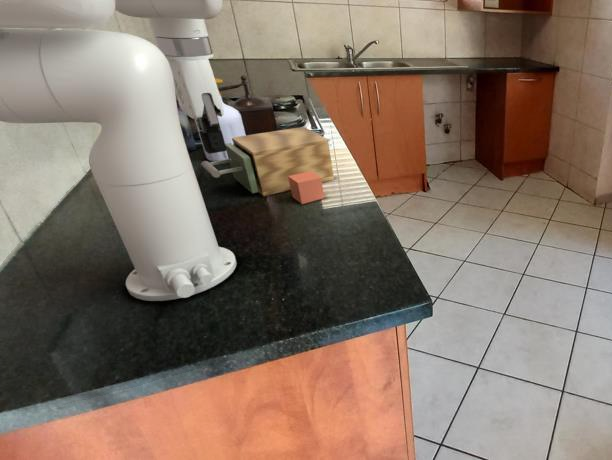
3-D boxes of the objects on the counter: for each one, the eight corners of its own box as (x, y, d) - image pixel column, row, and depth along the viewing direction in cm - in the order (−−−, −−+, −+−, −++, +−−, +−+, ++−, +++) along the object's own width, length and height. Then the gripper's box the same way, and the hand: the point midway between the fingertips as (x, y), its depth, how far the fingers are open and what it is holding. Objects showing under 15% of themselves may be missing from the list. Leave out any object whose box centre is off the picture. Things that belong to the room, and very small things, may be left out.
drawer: (222, 200, 80) (211, 163, 76) (205, 183, 86) (194, 148, 83) (320, 177, 92) (314, 144, 88) (298, 164, 98) (292, 133, 95)
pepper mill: (277, 131, 123) (263, 65, 114) (281, 142, 115) (266, 71, 106) (214, 136, 116) (194, 66, 107) (213, 148, 108) (191, 73, 99)
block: (324, 198, 85) (321, 177, 83) (301, 204, 82) (297, 182, 80) (314, 191, 88) (310, 170, 86) (292, 197, 85) (287, 176, 83)
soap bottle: (258, 155, 104) (231, 48, 93) (219, 165, 98) (185, 50, 86) (238, 148, 108) (210, 44, 97) (199, 157, 102) (164, 46, 90)
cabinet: (263, 196, 84) (252, 152, 80) (242, 179, 91) (231, 137, 87) (334, 179, 94) (327, 139, 90) (310, 164, 101) (303, 126, 97)
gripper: (148, 43, 74) (182, 145, 83) (169, 54, 65) (205, 166, 74) (198, 42, 79) (225, 138, 88) (224, 52, 70) (251, 157, 79)
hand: (216, 151), depth 81 cm, fingers closed
